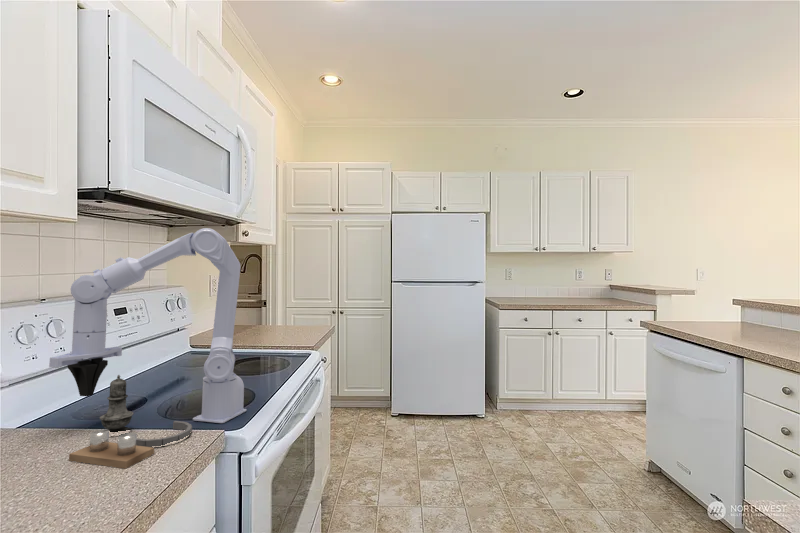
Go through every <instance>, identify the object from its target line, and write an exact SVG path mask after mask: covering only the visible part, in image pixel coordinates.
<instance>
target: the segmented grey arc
mask: <svg viewBox="0 0 800 533" xmlns="http://www.w3.org/2000/svg"><path fill="white" fill-rule="evenodd" d="M172 429H173V430H179V431H181V432H179V433H177V434H174V435H170V436H166V437H161V438H160V437H159V438H150V439H149V438H147V439H146V438H139V437H138V438H137V439H136V446H145V447H152V446H161V445H165V444H167V443H170V442H173V441H178V440H180V439H183V438H184V437H186V436H188V435H190V432H191V431H192V432H193V425H192V424H191V423H189V422H187V421H182V420H181V421H179V420H174V421H173V422H172ZM184 430H185V431H184ZM190 436H191V435H190Z"/></svg>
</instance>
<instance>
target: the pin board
mask: <svg viewBox="0 0 800 533" xmlns="http://www.w3.org/2000/svg"><path fill="white" fill-rule="evenodd" d="M89 434H90V435H89V445H88V446H86V447H84V448H81V449H78V450H76V451H73V452H70V453H69V454H68V457H69V458H68V461H69V462H73V461H76V462H75V463H81V462H83V464H88V463H90V464H89V465H95V464H96V466H102V465H103V466H104V467H110V466H112V467H111V468H118V469H128V468H130V467H133V466H134V465H135V464H138V463H140V462H142V461H143V459H144V460H146V459H147V457H148V458H150V457H151V455H152V454H154V455H155V448H153V447H145V446H136V439H137V437H138V436H137V435H138V434H137V433H136V432H129V433H125V434H121V435H119V436H117V442H111V441H110V437H109V430H107V429H106V428H105V429H98V430H94V431H92V432H90V433H89ZM149 456H150V457H149ZM152 456H153V455H152ZM145 458H146V459H145Z"/></svg>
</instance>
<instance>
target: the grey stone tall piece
mask: <svg viewBox="0 0 800 533" xmlns="http://www.w3.org/2000/svg"><path fill="white" fill-rule="evenodd" d="M128 397H129V396H128V394H127V381H126V380H125V379H124V378H121V375H120V374H118V375H117V376H116V379H113V380H112V381H111V382H110V384H109V396H108V397H107V398H106V399H107V400H108V408H107V412H106V413H105V414H102V415H100V416H99V420H100V422H101V425H102V427H104V428H105V429H106V430H109V431H110V432H118V431H126V430H131V431H132V429H131V428H130V427H128V425H129V423H130V422H131V420H132V418H133V416H134V414H135V413H134V411H131V410H128V408H127V398H128Z"/></svg>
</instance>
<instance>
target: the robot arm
mask: <svg viewBox="0 0 800 533" xmlns="http://www.w3.org/2000/svg"><path fill="white" fill-rule="evenodd" d="M196 253H197V254H199V255H200V256H202V257H204V258H206V259H207V260H208V261H209V262H210V263H211V264H213V266H215V267H216V269H217V271H219V275H218V282H217V283H218V284H217V293H216V302H215V310H214V312H215V313H214V320H213V331H212V339H211V344H210V350H209V355H208V357H207V359H206V360H205V361H204V365H203V373H204V375H205V376H203V377H202V393H201V394H202V395H201V396H202V397H201V399H202V400H201V414H198V415H196V416H194V417H193V418H192V421H196V422H197V421H198V422H205V423H206V422H207V423H216V424H224V423H226V422H229V421H230V420H232V419H234V418H236V417H239V416H240V415H241V414H244V413H245V412H247V408H244V403H245V401H244V396H245V393H244V392H245V384H244V382H243V379H242V378H241V377H240V376H238V375H237V374H236V373H235V372H234V369H235V363H236V355H235V353H234V350H233V346H234V332H235V324H236V314H237V305H238V294H239V286H240V278H241V277H240V275H241V267H242V266H241V262H240V261H239V259H238V258H237V256H236V254H235V252H234V250H233V249H232V248H231V246H230V244H229V243H228V240H227V239H226V238H224V237H223V236H222V235H221V234H220V233H219V232H218V231H216V230H215V229H213V228H207V227H204V228H200V229H198V230H196V231H195V232H190V233H187V234H185V235H182V236H180V237H178V238H175V239H173V240H172V241H169V242H168V243H166V244H165V245H162V246H160V247H157V248H156V249H154V250H153V251H151V252H148V253H147V254H145V255H143V256H141V257H139V258H134V257H131V256H130V257H129V256H127V257H126V258H124V257H121V256H120V257H119V258H116V259H115V260H114V261H115V263H113V264H110V265H108V266H105V267H104V268H102V269H100V268H97V269H95V270H93V271H92V273H93V275H91V274H84V275H80V276H79V277H78V278H77V279H75V280H74V281H72V282H73V283H72V284H71V286H70V294H71V296H72V297H73V299H74V308H73V309H74V310H73V321H72V322H73V323H72V341H71V344H72V345H71V351H70V352H68V353H65V354H64V353H63V354H61V355H57V356H52V357H49V366H48V367H49V368H52V369H53V368H55V369H59V368H62V367H65V366H67V368H68V370H69V371H70V374H71V375H72V376H73V378H74V381H75V383H76V387H77V389H78V394H79V396H80V397H91V396H93V395H94V394H95V390H96V386H97V384H98V381H99V379H100V377H101V376H102V374H103V372H104V370H105V369H106V367H107V366H108V362H109V360H107V358H112V357H121V356H122V355H123V353H122V351H123V347H122V346H112V347H106V343H107V342H106V340H107V338H106V337H107V321H108V319H107V318H108V308H107V307H108V305H107V304H108V298H110V297H111V295H112V294H116V293H118V292H120V291H122V290H124V289H126V288H128V287H130V286H132V285H135V284H136V283H138V282H141V281H142V280H144V278H145V275H146V272H148V271H149V270H150V271H151V270H152V269H155V268H156V267H159V266H161V265H163V264H165V263H167V262H170V261H172V260H174V259H176V258H178V257H181V256H189V257H190V256H191V257H192V256H194V257H195V256H197V254H196ZM105 359H106V360H105Z"/></svg>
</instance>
